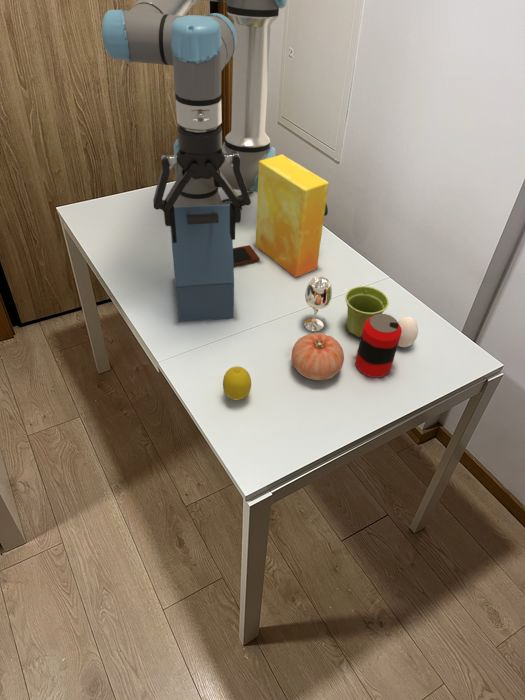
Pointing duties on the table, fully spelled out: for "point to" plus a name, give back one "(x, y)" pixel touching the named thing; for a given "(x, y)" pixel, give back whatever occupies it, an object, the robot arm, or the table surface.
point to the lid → (203, 245)
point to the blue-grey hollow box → (205, 302)
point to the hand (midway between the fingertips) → (203, 237)
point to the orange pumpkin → (317, 356)
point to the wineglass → (317, 300)
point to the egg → (407, 331)
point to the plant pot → (363, 306)
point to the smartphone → (244, 255)
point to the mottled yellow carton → (290, 214)
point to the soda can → (378, 345)
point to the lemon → (236, 383)
